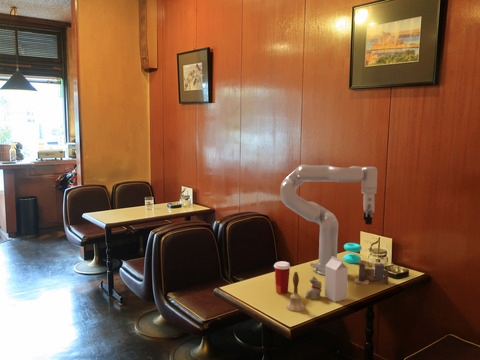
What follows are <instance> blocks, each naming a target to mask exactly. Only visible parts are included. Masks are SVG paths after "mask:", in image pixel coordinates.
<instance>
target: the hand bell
mask: <svg viewBox="0 0 480 360" xmlns="http://www.w3.org/2000/svg"><path fill="white" fill-rule="evenodd" d="M292 283H293V284H292V285H293V293H292V294H290V297H289V299H290V300H289V302H288V303H287V304H286V307H285V308H286V309H287V310H288V311H289V312H295V313H299V312H300V313H301V312H303V311H305V309H306V306H305V305H304V304H303V301H302V296H301V294H299V291H298V289H299V287H298V286H299V283H300V277H299V273H298V272H297V271H294V273H293V275H292Z"/></svg>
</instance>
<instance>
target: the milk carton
mask: <svg viewBox="0 0 480 360" xmlns="http://www.w3.org/2000/svg"><path fill="white" fill-rule="evenodd" d="M348 268H349V267H347V266H346V264H344V261H343V259H341V258H338V257H337V258H336V257H333V256H331V259H330V260H329V262H328V263H327V264H326V265H325V275H324V297H325V298H327V299H329V300H330V301H332V302H333V303H336V302H340V301H343V300H347V298H348V297H347V296H348V276H349V275H348V273H349V271H348Z"/></svg>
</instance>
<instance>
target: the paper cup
mask: <svg viewBox="0 0 480 360" xmlns="http://www.w3.org/2000/svg"><path fill="white" fill-rule="evenodd" d="M273 268H274V277H275V282H274V283H275V292H276V294H278V295H286V294H288V292H289V283H290V281H289V280H290V269H291V265H290V262H287V261H284V260H283V261H280V260H279V261H277V262H275V263H274V264H273Z"/></svg>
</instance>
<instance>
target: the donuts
mask: <svg viewBox="0 0 480 360" xmlns="http://www.w3.org/2000/svg"><path fill="white" fill-rule="evenodd" d="M343 248H344V250H345V251H347V252H350V253H347V254H345V255H344V256H343V260H344V261H343V262H346V263H349V264H358V261H359V260H362V258H361V256H360V255H358V254H355V253H358V252H360V251H362V245H360V244H358V243H355V242H347V243H344V245H343Z"/></svg>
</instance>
